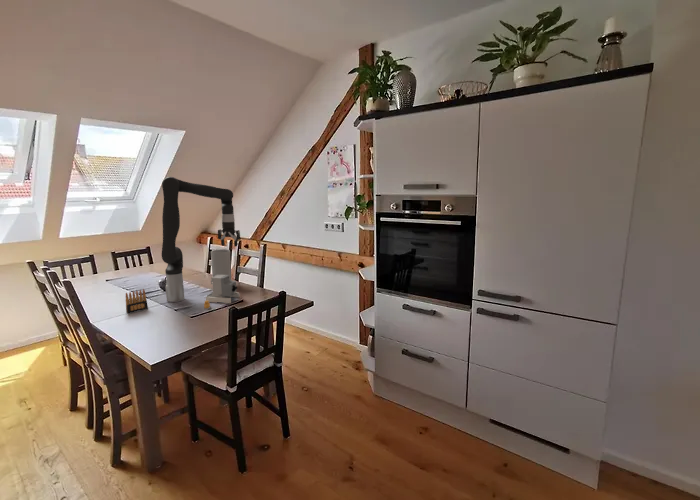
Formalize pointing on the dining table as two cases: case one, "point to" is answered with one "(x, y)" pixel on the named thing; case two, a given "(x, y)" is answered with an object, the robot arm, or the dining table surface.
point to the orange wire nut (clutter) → (206, 304)
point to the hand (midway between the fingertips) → (229, 246)
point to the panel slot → (219, 299)
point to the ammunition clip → (136, 302)
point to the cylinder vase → (221, 262)
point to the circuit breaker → (223, 286)
